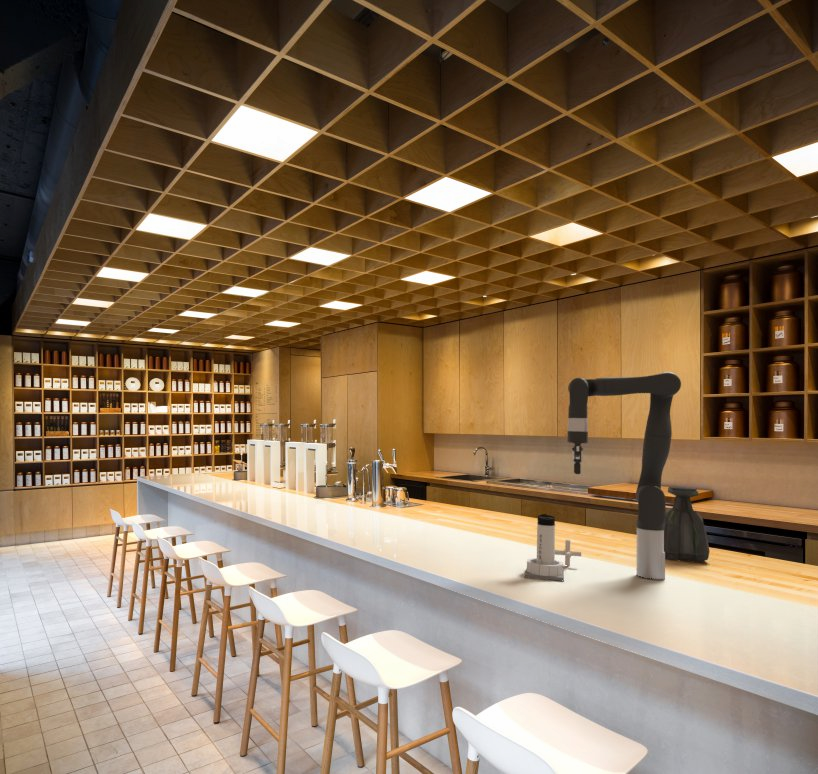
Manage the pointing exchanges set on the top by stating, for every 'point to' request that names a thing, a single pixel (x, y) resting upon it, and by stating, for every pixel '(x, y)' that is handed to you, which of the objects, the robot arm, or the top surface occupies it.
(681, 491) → the dark grey ribbed vase
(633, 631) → the top surface
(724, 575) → the top surface
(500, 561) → the top surface
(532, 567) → the duct collar
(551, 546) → the travel mug
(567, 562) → the pipe connector
